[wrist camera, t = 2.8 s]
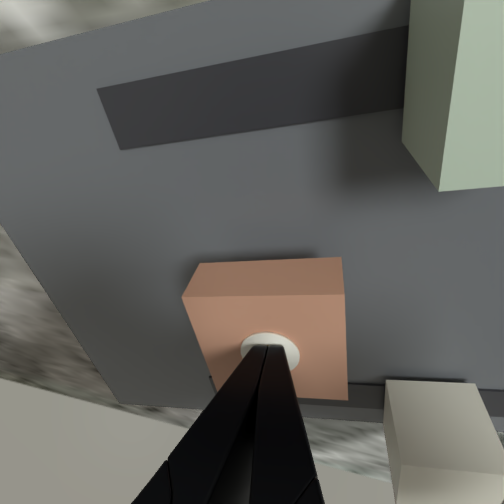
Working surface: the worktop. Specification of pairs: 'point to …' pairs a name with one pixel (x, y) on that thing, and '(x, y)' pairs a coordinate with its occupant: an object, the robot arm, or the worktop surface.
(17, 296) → the worktop surface
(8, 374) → the worktop surface
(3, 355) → the worktop surface
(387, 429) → the cream slider
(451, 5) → the sage slider
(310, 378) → the terracotta button
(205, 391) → the control panel
